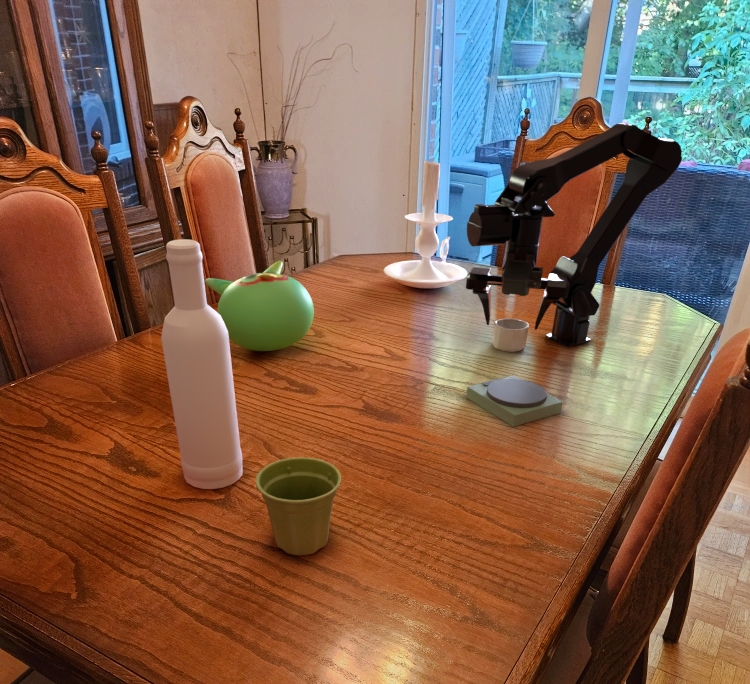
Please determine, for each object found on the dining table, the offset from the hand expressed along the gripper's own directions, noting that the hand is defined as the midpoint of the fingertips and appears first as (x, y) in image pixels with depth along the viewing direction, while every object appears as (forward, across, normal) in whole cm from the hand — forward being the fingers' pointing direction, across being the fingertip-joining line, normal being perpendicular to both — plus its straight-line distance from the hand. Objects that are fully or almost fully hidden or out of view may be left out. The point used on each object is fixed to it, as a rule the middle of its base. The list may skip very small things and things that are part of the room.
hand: (511, 326), depth 129 cm
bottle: (+4, -35, -60) cm, 70 cm away
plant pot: (+4, -18, -71) cm, 73 cm away
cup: (+4, 0, 0) cm, 4 cm away
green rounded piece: (+4, -45, -14) cm, 48 cm away
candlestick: (+4, -24, +39) cm, 46 cm away
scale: (+4, +3, -27) cm, 27 cm away
